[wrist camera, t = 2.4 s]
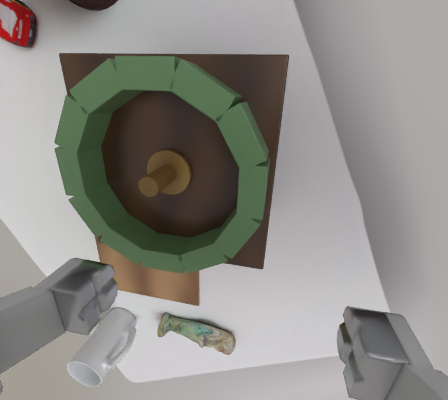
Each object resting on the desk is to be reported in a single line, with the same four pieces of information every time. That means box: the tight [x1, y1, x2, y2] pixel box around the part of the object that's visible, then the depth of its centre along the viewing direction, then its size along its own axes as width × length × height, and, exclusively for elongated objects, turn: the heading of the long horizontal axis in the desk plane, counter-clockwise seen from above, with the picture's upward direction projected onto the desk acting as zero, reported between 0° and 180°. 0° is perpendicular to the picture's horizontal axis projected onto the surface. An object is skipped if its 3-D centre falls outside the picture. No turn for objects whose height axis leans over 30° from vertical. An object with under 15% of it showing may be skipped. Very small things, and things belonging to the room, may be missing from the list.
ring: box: [55, 56, 270, 274], centre depth 20 cm, size 17×17×3 cm
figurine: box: [158, 313, 236, 355], centre depth 47 cm, size 6×15×4 cm, turn 76°
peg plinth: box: [59, 53, 289, 269], centre depth 26 cm, size 18×18×18 cm
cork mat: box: [95, 237, 199, 306], centre depth 44 cm, size 20×20×1 cm
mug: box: [67, 308, 136, 387], centre depth 48 cm, size 10×7×12 cm, turn 109°
